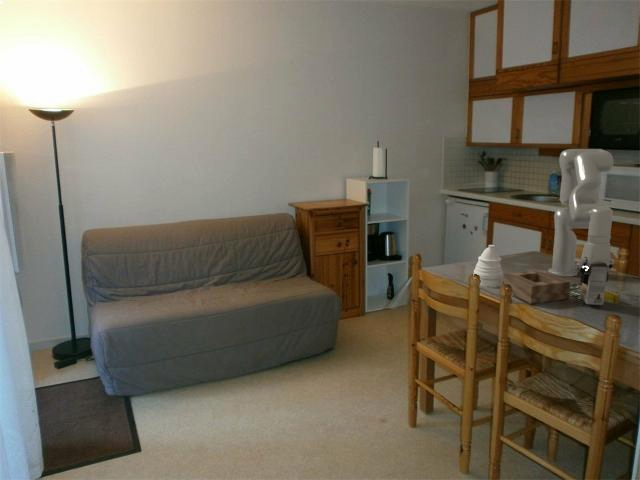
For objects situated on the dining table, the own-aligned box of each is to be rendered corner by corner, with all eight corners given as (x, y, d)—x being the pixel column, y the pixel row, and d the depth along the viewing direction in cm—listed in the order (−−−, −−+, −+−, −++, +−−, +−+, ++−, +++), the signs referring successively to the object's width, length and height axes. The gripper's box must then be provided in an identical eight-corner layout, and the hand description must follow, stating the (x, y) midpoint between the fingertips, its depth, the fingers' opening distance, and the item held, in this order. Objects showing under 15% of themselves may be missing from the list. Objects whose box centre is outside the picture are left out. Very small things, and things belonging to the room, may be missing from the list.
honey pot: (507, 286, 228) (510, 247, 224) (479, 288, 227) (481, 248, 223) (495, 278, 241) (498, 240, 237) (468, 279, 240) (470, 241, 236)
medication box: (590, 295, 216) (591, 286, 215) (596, 294, 216) (597, 285, 216) (614, 304, 205) (615, 295, 204) (619, 303, 205) (620, 294, 204)
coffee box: (579, 296, 209) (583, 258, 205) (596, 297, 208) (601, 258, 204) (586, 304, 200) (590, 264, 197) (604, 305, 199) (609, 265, 195)
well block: (538, 287, 226) (540, 270, 224) (568, 300, 209) (570, 281, 207) (503, 291, 221) (504, 273, 220) (530, 305, 204) (532, 286, 203)
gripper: (609, 235, 204) (604, 277, 208) (572, 239, 199) (568, 281, 204) (624, 239, 197) (619, 282, 201) (587, 243, 192) (582, 287, 197)
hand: (593, 281), depth 202 cm, fingers closed on coffee box, 8 cm apart
